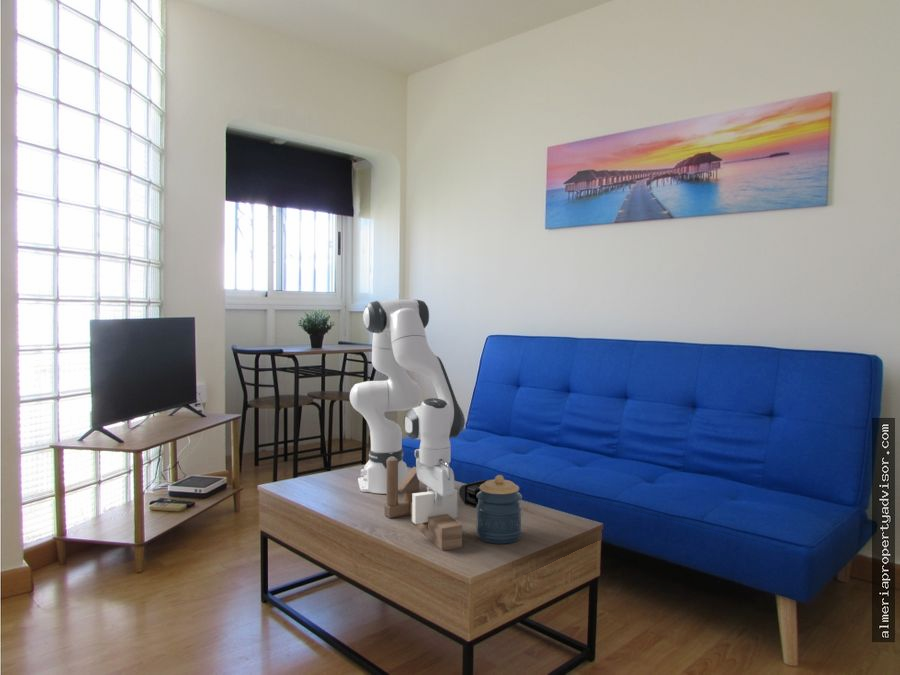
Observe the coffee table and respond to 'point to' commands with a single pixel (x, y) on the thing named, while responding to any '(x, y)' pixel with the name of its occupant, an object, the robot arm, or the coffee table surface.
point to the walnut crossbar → (442, 531)
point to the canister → (499, 511)
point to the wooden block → (399, 490)
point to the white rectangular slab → (432, 506)
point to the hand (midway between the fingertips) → (435, 503)
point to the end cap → (470, 493)
